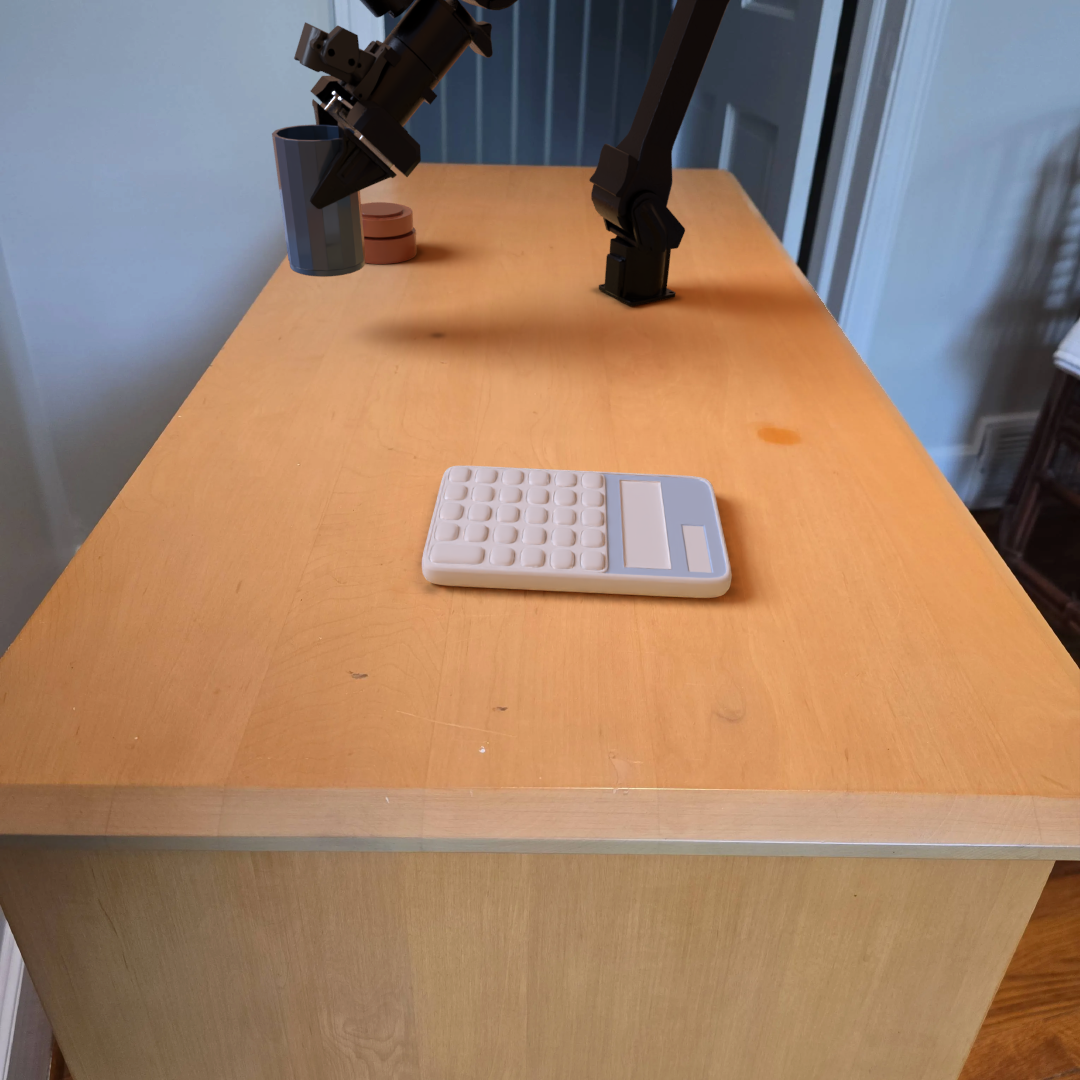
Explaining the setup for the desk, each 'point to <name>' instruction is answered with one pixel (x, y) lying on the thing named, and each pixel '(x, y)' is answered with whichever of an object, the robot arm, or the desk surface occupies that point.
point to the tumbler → (311, 233)
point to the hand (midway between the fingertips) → (305, 195)
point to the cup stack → (388, 233)
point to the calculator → (577, 532)
